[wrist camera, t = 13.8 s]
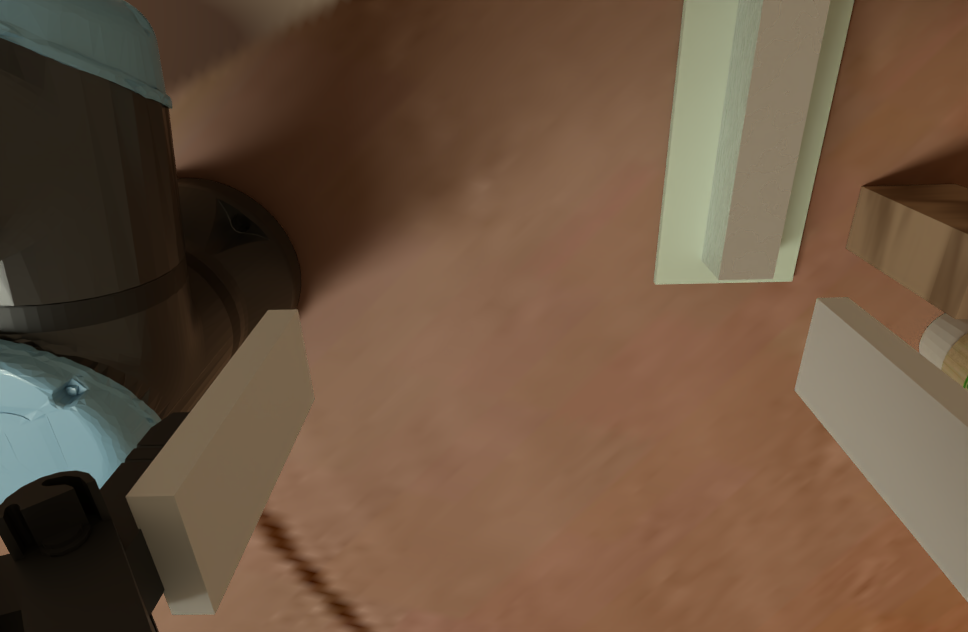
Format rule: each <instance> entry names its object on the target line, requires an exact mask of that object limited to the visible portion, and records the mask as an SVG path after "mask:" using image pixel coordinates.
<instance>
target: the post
mask: <svg viewBox="0 0 968 632" xmlns="http://www.w3.org/2000/svg"><path fill="white" fill-rule="evenodd" d="M846 249H847V250H849V251H850V252H852V253H854V254H855V255H857V256H858V257H860V258H861V259H863V260H864V261H866V262H867V263H869V264H870V265H872V266H874V267H875V268H877V269H878V270H880V271H881V272H883V273H884V274H886V275H887V276H889V277H891V278H892V279H894V280H895V281H897V282H898V283H900V284H901V285H903V286H904V287H906V288H908V289H909V290H911V291H912V292H914V293H915V294H917V295H918V296H920V297H921V298H923V299H925V300H926V301H928V302H929V303H931V304H932V305H934V306H935V307H937V308H938V309H940V310H942V311H943V312H945V313H946V314H948V315H949V316H951V317H952V318H954V319H968V188H965V187H962V186H960V185H957V184H933V185H894V186H862V187H861V191H860V195H859V199H858V203H857V206H856V210H855V214H854V218H853V222H852V226H851V230H850V234H849V237H848V241H847V245H846Z"/></svg>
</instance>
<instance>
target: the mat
mask: <svg viewBox="0 0 968 632" xmlns="http://www.w3.org/2000/svg"><path fill="white" fill-rule="evenodd" d="M738 2H739V0H684V4H683V13H682V23H681V32H680V41H679V50H678V60H677V69H676V78H675V88H674V97H673V106H672V115H671V125H670V134H669V143H668V153H667V162H666V171H665V181H664V190H663V199H662V208H661V218H660V227H659V236H658V246H657V255H656V264H655V273H654V283H655V284H696V283H740V282H785V281H792V279H793V275H794V270H795V266H796V261H797V257H798V252H799V248H800V243H801V239H802V234H803V230H804V225H805V221H806V216H807V212H808V207H809V203H810V198H811V193H812V189H813V184H814V180H815V175H816V171H817V166H818V162H819V157H820V153H821V148H822V144H823V139H824V135H825V130H826V126H827V121H828V117H829V112H830V108H831V103H832V98H833V94H834V89H835V85H836V80H837V76H838V71H839V67H840V62H841V58H842V53H843V49H844V44H845V40H846V35H847V31H848V26H849V22H850V17H851V13H852V8H853V3H854V0H830V5H829V10H828V15H827V20H826V25H825V29H824V34H823V39H822V44H821V49H820V54H819V59H818V64H817V68H816V73H815V78H814V83H813V88H812V93H811V98H810V103H809V107H808V112H807V117H806V122H805V127H804V132H803V137H802V142H801V146H800V151H799V156H798V161H797V166H796V171H795V176H794V180H793V185H792V190H791V195H790V200H789V205H788V210H787V215H786V219H785V224H784V229H783V234H782V239H781V244H780V249H779V254H778V258H777V263H776V268H775V273H774V278H773V279H749V280H718V279H717V278H716V277H715V276H714V274H713V273H712V272H711V271H710V270H709V269H708V268H707V266H706V265H705V264H704V263H703V262H702V261H701V259H702V252H703V245H704V238H705V231H706V224H707V217H708V210H709V203H710V196H711V189H712V183H713V176H714V169H715V162H716V155H717V148H718V141H719V134H720V127H721V120H722V113H723V106H724V99H725V92H726V85H727V78H728V72H729V65H730V58H731V51H732V44H733V37H734V30H735V23H736V16H737V9H738Z"/></svg>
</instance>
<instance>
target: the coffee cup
mask: <svg viewBox="0 0 968 632" xmlns="http://www.w3.org/2000/svg"><path fill="white" fill-rule="evenodd" d="M919 352H920V354H921V355H922V356H924V357H925V358H926V359H927V360H929V361H930V362H931V363H933V364H934V365H935V366H936V367H938V368H939V369H940V370H942V371H943V372H944V373H945V374H947V375H948V376H949V377H951V378H952V379H953V380H954V381H956V382H957V383H958V384H959V385H961V386H962V387H963V388H965V389H966V390H967V391H968V319H954V318H952V317H951V316H949V315H948V314H946V313H944V314H943V315H941V316H939V317H938V318H937V319H936V320H934V321H933V322H932V323H931V324H930V325H929V326H928V327H927V329H926V330H925V332H924V333H923V335H922V338H921V340H920V345H919Z"/></svg>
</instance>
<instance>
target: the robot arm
mask: <svg viewBox="0 0 968 632" xmlns="http://www.w3.org/2000/svg"><path fill="white" fill-rule="evenodd" d="M169 108H170V109H171V108H172V101H171V98H170V97H169V96H168V95H167V94H166V91H165V85H164V79H163V74H162V68H161V63H160V56H159V51H158V44H157V40H156V36H155V33H154V31H153V28H152V27H151V25H150V23H149V22H148V20H147V19H146V18H145V17H144V16H143V15H142V13H140V12H139V11H138V10H137V9H136V8H135V7H133V6H132V5H130V4H129V3H127V2H126V1H124V0H0V536H1V538H2V540H3V541H4V543H5V545H6V547H7V549H8V551H9V552H10V554H7V555H3V556H0V632H159V631H158V629H157V626H156V623H155V621H154V619H153V616H152V614H151V613H152V611H153V610H154V608H155V606H156V604H157V603H158V601H159V599H160V597H161V596H162V594H163V593H164V595H165V598H166V600H167V603H168V605H169V608H170V610H171V613H172V615H196V614H215V613H216V611H217V609H218V607H219V605H220V602H221V600H222V598H223V596H224V594H225V592H226V590H227V587H228V585H229V583H230V581H231V579H232V577H233V574H234V572H235V570H236V568H237V566H238V564H239V561H240V559H241V557H242V555H243V553H244V551H245V548H246V546H247V544H248V542H249V540H250V538H251V536H252V533H253V531H254V529H255V527H256V525H257V523H258V520H259V518H260V516H261V514H262V512H263V510H264V507H265V505H266V503H267V501H268V499H269V497H270V494H271V492H272V490H273V488H274V486H275V484H276V481H277V479H278V477H279V475H280V473H281V471H282V469H283V466H284V464H285V462H286V460H287V458H288V456H289V453H290V451H291V449H292V447H293V445H294V443H295V440H296V438H297V436H298V434H299V432H300V430H301V427H302V425H303V423H304V421H305V419H306V417H307V415H308V412H309V410H310V408H311V406H312V404H313V402H314V399H315V398H314V393H313V387H312V382H311V377H310V371H309V366H308V361H307V356H306V350H305V345H304V340H303V334H302V329H301V324H300V318H299V313H298V309H296V307H297V304H298V301H299V296H300V290H301V274H300V267H299V263H298V259H297V256H296V253H295V250H294V248H293V246H292V244H291V242H290V240H289V238H288V236H287V235H286V233H285V231H284V230H283V229H282V227H281V226H280V225H279V223H278V222H277V221H276V220H275V219H274V217H273V216H272V215H271V214H270V213H269V212H268V211H267V210H265V209H264V208H263V207H262V206H261V205H260V204H258V203H257V202H256V201H254V200H253V199H251V198H250V197H248V196H247V195H245V194H243V193H242V192H240V191H238V190H236V189H233V188H231V187H229V186H226V185H224V184H221V183H217V182H214V181H210V180H204V179H197V178H177V173H176V164H175V156H174V148H173V139H172V131H171V123H170V114H169ZM795 391H796V393H797V394H798V395H799V396H800V398H801V399H802V400H803V401H804V402H805V404H806V405H807V406H808V407H809V409H810V410H811V411H812V412H813V413H814V415H815V416H816V417H817V418H818V420H819V421H820V422H821V423H822V424H823V426H824V427H825V428H826V429H827V431H828V432H829V433H830V434H831V435H832V437H833V438H834V439H835V440H836V442H837V443H838V444H839V445H840V446H841V448H842V449H843V450H844V451H845V453H846V454H847V455H848V456H849V458H850V459H851V460H852V461H853V462H854V464H855V465H856V466H857V467H858V469H859V470H860V471H861V472H862V473H863V475H864V476H865V477H866V478H867V480H868V481H869V482H870V483H871V484H872V486H873V487H874V488H875V489H876V491H877V492H878V493H879V494H880V495H881V497H882V498H883V499H884V500H885V502H886V503H887V504H888V505H889V506H890V508H891V509H892V510H893V511H894V513H895V514H896V515H897V516H898V517H899V519H900V520H901V521H902V522H903V524H904V525H905V526H906V527H907V528H908V530H909V531H910V532H911V533H912V535H913V536H914V537H915V538H916V539H917V541H918V542H919V543H920V544H921V546H922V547H923V548H924V549H925V550H926V552H927V553H928V554H929V555H930V557H931V558H932V559H933V560H934V561H935V563H936V564H937V565H938V566H939V568H940V569H941V570H942V571H943V572H944V574H945V575H946V576H947V577H948V579H949V580H950V581H951V582H952V583H953V585H954V586H955V587H956V588H957V590H958V591H959V592H960V593H961V594H962V596H963V597H964V598H965V599H966V601H967V602H968V391H967V390H966V389H965V388H963V387H962V386H961V385H959V384H958V383H957V382H956V381H954V380H953V379H952V378H951V377H949V376H948V375H947V374H945V373H944V372H943V371H942V370H940V369H939V368H938V367H936V366H935V365H934V364H933V363H931V362H930V361H929V360H927V359H926V358H925V357H924V356H922V355H921V354H920V353H918V352H917V351H916V350H915V349H913V348H912V347H911V346H909V345H908V344H907V343H906V342H904V341H903V340H902V339H901V338H899V337H898V336H897V335H895V334H894V333H893V332H892V331H890V330H889V329H888V328H886V327H885V326H884V325H883V324H881V323H880V322H879V321H877V320H876V319H875V318H874V317H872V316H871V315H870V314H868V313H867V312H866V311H865V310H863V309H862V308H861V307H860V306H858V305H857V304H856V303H854V302H853V301H852V300H851V299H849V298H848V297H843V298H817V300H816V304H815V308H814V312H813V316H812V320H811V324H810V328H809V333H808V337H807V341H806V345H805V349H804V353H803V357H802V361H801V365H800V369H799V373H798V377H797V382H796V386H795Z"/></svg>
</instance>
